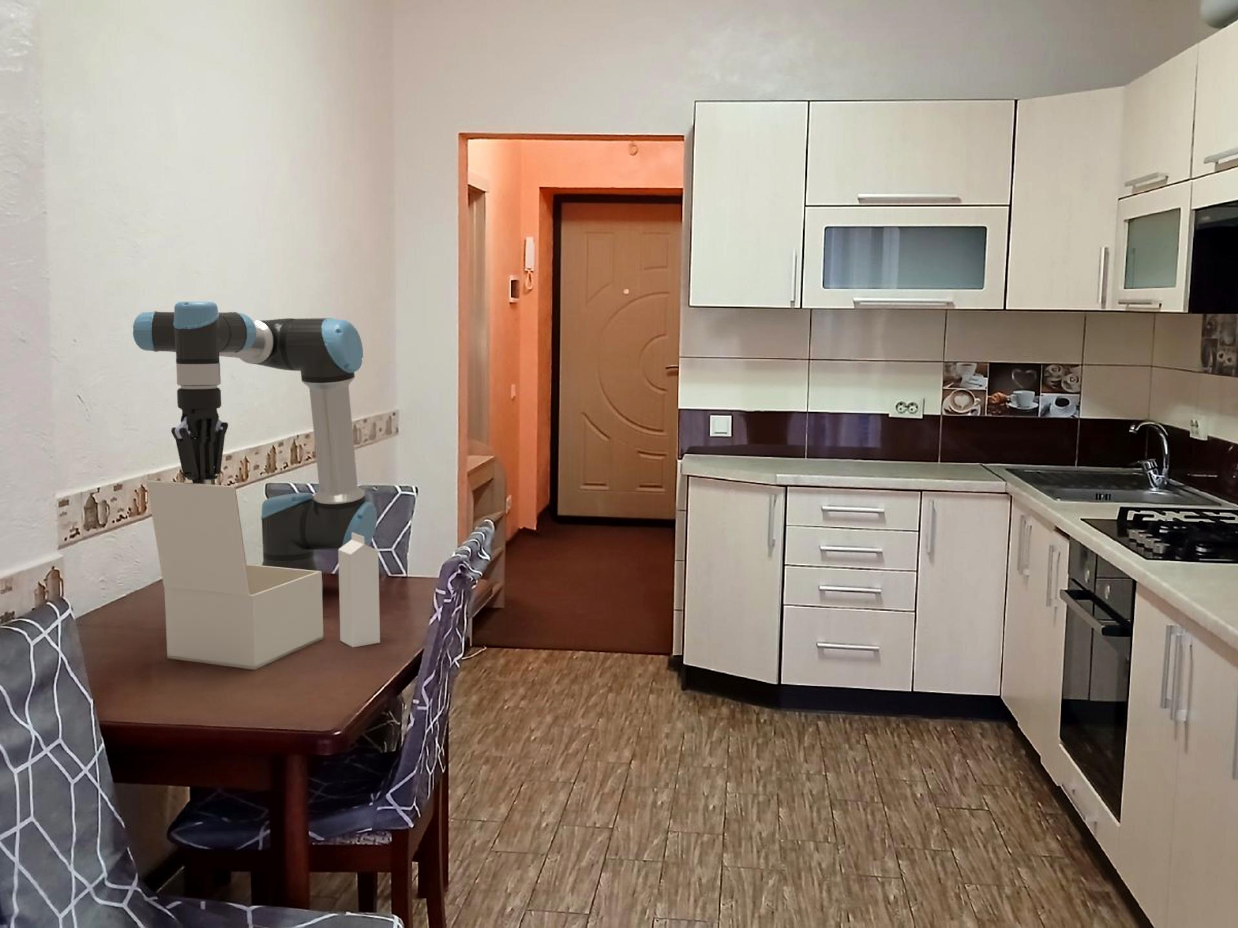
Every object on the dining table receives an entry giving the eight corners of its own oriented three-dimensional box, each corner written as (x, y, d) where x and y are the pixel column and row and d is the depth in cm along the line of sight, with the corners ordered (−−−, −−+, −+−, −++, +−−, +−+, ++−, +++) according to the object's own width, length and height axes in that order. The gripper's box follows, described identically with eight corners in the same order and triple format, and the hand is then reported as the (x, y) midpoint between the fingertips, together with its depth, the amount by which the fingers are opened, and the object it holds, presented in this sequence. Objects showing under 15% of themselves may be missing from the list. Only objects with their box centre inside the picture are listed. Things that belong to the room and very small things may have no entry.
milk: (352, 647, 230) (349, 538, 227) (339, 640, 235) (336, 533, 232) (380, 642, 234) (378, 535, 231) (367, 635, 239) (365, 530, 236)
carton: (241, 628, 243) (238, 563, 241) (323, 638, 236) (321, 571, 234) (167, 658, 222) (164, 586, 221) (255, 669, 216) (252, 595, 214)
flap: (148, 480, 215) (146, 481, 214) (235, 486, 208) (233, 487, 208) (165, 585, 220) (163, 586, 220) (250, 594, 214) (248, 595, 213)
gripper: (205, 384, 219) (210, 507, 222) (156, 388, 207) (162, 519, 210) (238, 385, 217) (243, 510, 220) (191, 389, 205) (196, 521, 208)
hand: (203, 514), depth 215 cm, fingers closed
